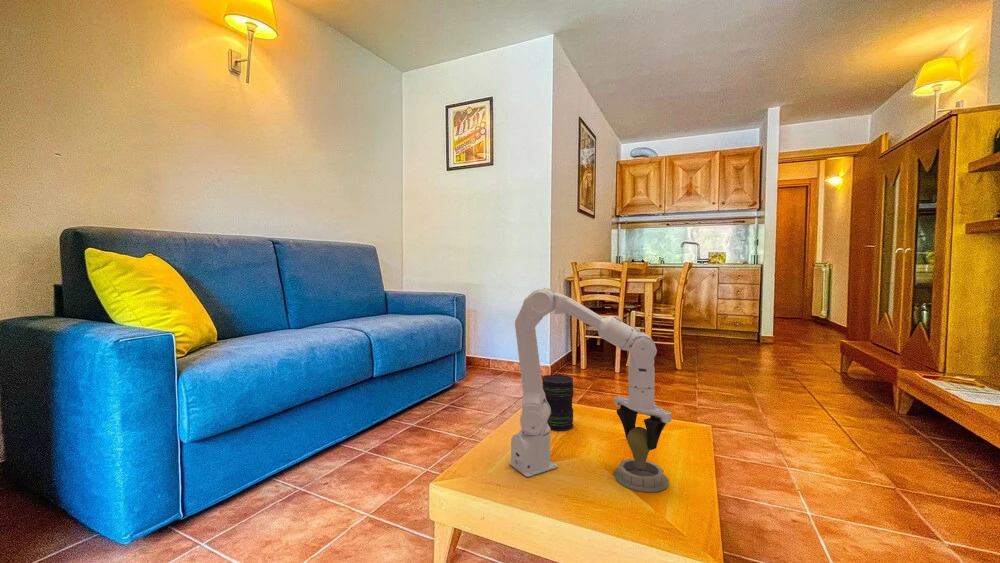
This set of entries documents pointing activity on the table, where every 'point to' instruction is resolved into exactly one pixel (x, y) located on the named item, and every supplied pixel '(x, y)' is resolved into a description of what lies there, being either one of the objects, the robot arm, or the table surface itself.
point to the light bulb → (638, 446)
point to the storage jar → (559, 401)
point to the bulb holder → (641, 477)
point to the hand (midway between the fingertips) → (641, 443)
